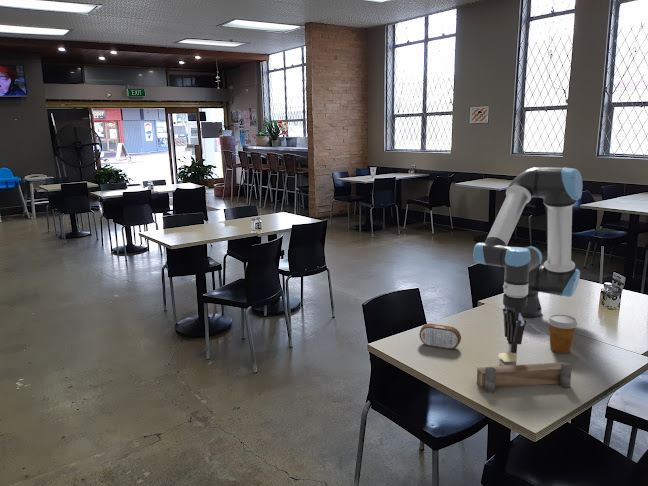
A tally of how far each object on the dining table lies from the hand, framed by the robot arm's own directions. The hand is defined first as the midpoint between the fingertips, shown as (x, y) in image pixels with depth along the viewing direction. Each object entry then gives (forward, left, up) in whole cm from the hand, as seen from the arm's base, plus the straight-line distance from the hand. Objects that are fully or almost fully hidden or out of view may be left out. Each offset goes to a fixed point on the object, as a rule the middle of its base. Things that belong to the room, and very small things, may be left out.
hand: (511, 360), depth 168 cm
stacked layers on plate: (+4, -3, -2) cm, 6 cm away
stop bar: (+14, -2, -2) cm, 14 cm away
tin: (-17, -20, -2) cm, 26 cm away
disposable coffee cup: (-9, +22, -2) cm, 24 cm away
